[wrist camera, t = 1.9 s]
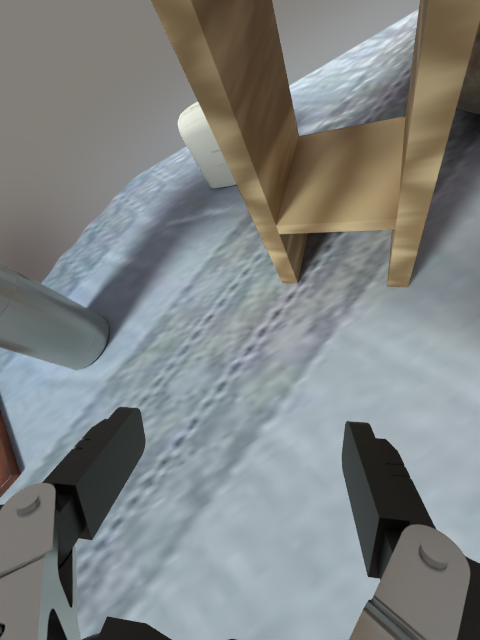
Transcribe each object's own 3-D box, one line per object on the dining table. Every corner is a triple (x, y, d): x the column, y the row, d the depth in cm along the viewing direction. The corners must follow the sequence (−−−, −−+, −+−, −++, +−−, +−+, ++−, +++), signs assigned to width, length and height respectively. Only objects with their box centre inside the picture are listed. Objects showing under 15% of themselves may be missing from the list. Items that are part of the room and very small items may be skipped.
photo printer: (208, 192, 50) (167, 122, 39) (214, 174, 51) (176, 102, 41) (264, 182, 45) (235, 101, 35) (268, 163, 47) (241, 79, 37)
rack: (280, 282, 37) (7, -295, 8) (297, 209, 41) (149, -352, 12) (410, 287, 30) (1005, -1824, 2) (415, 200, 34) (656, -967, 6)
